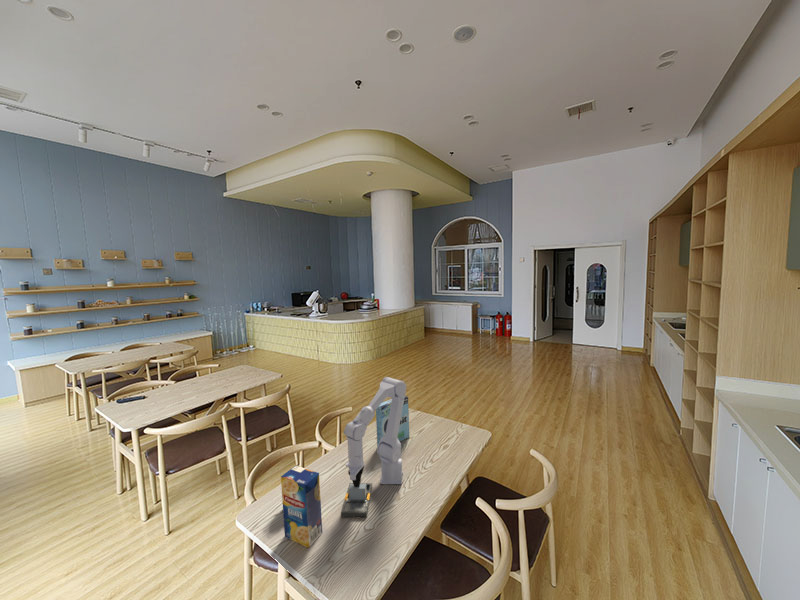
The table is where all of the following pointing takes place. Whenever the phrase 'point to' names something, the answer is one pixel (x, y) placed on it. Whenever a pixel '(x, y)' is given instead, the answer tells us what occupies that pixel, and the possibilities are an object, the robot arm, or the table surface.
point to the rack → (356, 504)
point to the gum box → (382, 420)
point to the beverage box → (301, 505)
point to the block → (358, 493)
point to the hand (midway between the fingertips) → (357, 485)
